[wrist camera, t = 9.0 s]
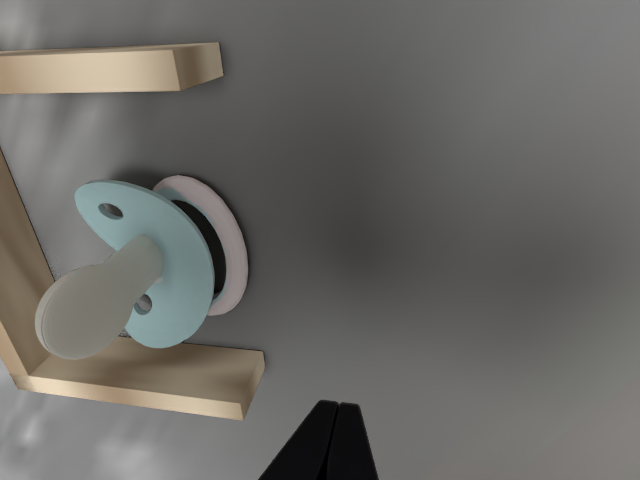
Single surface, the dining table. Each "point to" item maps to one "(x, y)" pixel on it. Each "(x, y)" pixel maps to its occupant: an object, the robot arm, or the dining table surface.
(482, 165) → the dining table surface
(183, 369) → the box
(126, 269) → the pacifier
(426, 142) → the dining table surface
